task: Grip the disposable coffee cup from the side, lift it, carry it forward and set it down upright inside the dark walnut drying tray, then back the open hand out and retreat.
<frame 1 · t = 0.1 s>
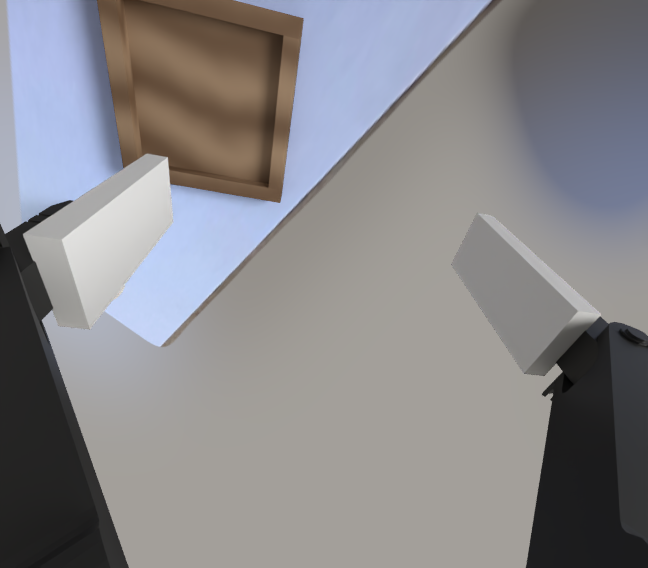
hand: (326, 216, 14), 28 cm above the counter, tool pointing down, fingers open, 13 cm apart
drying tray: (209, 103, 35), on the counter
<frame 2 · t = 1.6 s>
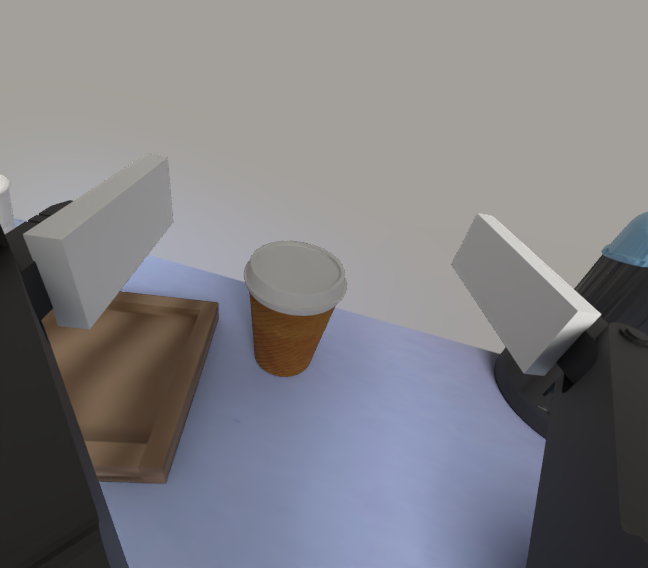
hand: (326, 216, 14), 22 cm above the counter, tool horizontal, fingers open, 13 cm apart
drying tray: (97, 374, 30), on the counter
disposable coffee cup: (283, 355, 36), on the counter
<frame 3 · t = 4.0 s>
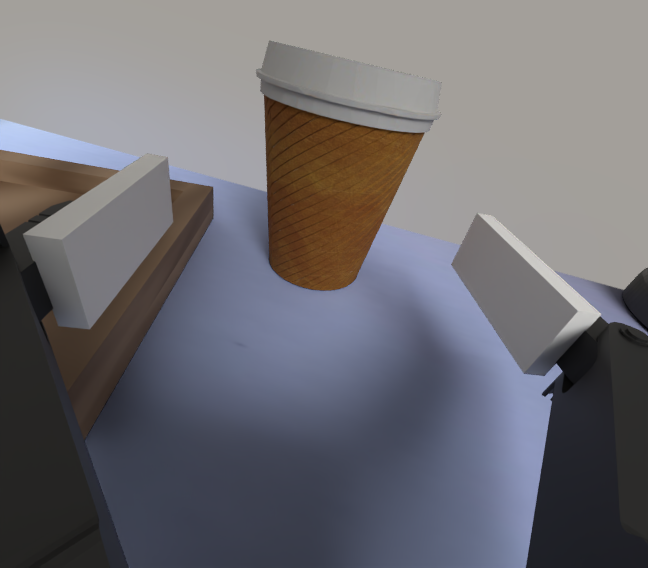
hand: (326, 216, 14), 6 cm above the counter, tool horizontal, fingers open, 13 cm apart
disposable coffee cup: (313, 266, 23), on the counter
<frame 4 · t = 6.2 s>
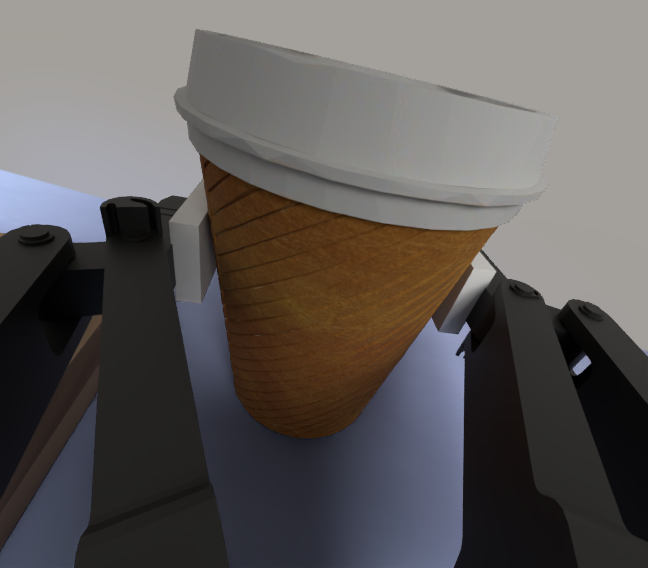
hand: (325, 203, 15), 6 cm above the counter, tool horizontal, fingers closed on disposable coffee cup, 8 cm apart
disposable coffee cup: (302, 376, 15), on the counter, touching gripper
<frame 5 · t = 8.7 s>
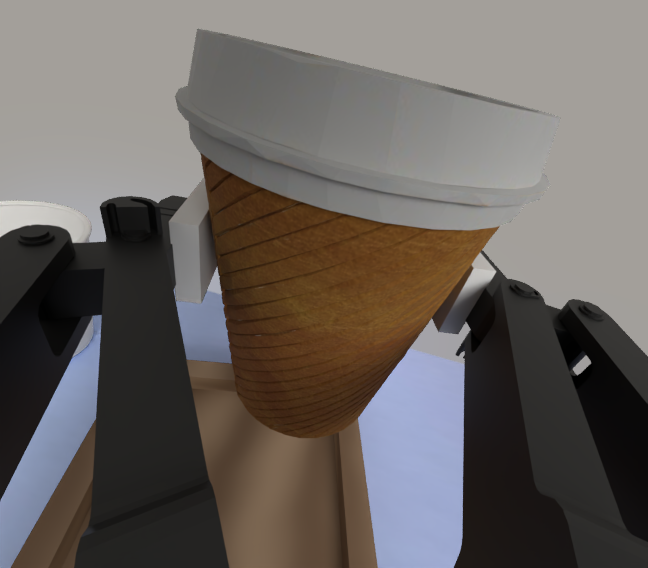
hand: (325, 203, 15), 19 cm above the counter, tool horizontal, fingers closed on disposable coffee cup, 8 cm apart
cup: (52, 344, 28), on the counter
drying tray: (224, 499, 21), on the counter
disposable coffee cup: (303, 376, 15), point 12 cm above the counter, touching gripper
when the fingers open (9 cm above the counter, at t = 11.2 s): disposable coffee cup drops 1 cm, resting on drying tray.
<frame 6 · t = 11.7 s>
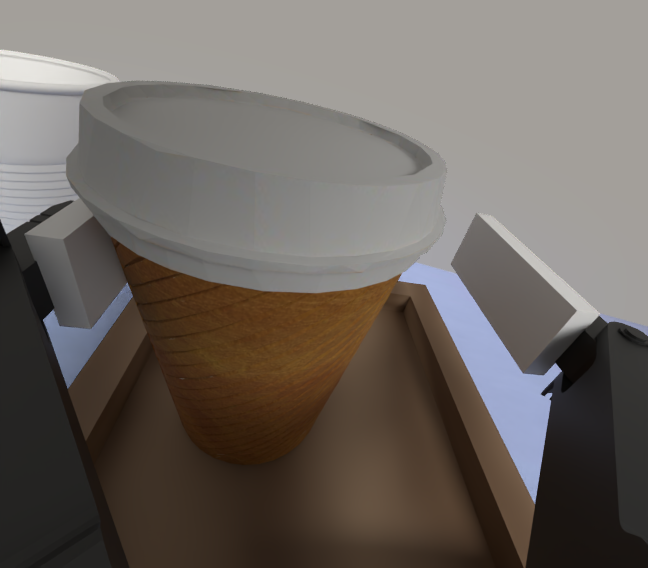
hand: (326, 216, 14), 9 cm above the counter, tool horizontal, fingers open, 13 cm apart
cup: (66, 247, 23), on the counter
drying tray: (294, 405, 16), on the counter
disposable coffee cup: (252, 398, 15), point 1 cm above the counter, touching drying tray, gripper
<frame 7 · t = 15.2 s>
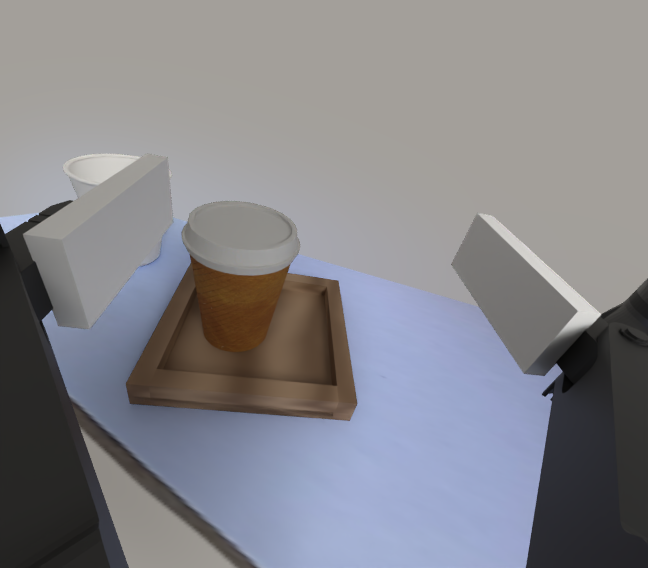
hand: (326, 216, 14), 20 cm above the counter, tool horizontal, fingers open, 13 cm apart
cup: (133, 256, 41), on the counter
drying tray: (258, 335, 34), on the counter
disposable coffee cup: (236, 330, 33), point 1 cm above the counter, touching drying tray
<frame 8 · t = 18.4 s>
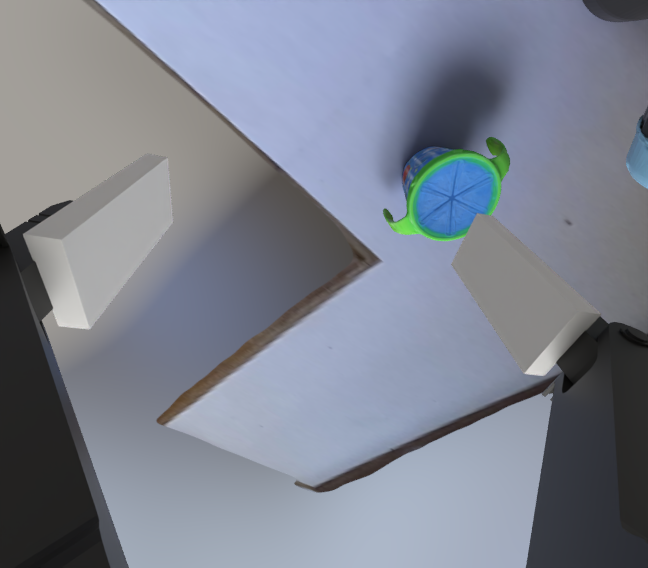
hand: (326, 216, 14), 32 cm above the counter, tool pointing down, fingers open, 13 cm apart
snack cup: (427, 173, 45), on the counter
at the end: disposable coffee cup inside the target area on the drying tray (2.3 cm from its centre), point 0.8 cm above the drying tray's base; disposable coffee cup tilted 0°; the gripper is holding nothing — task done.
